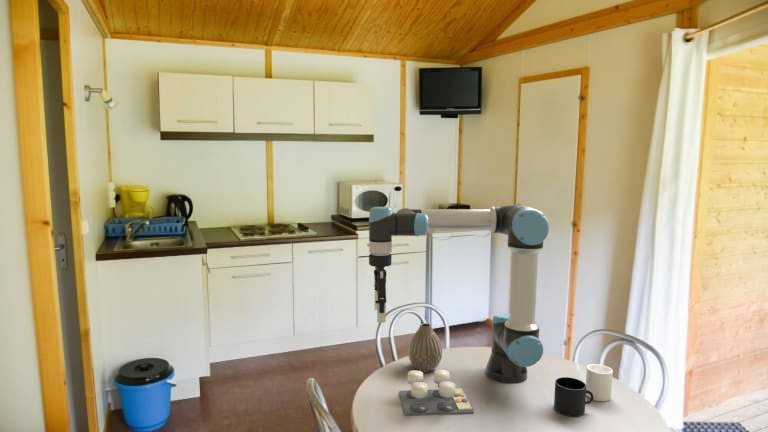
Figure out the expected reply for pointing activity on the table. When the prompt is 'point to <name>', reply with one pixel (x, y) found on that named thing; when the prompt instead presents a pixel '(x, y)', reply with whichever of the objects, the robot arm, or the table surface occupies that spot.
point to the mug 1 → (570, 396)
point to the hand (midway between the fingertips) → (379, 315)
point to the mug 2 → (599, 382)
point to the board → (435, 404)
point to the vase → (425, 349)
